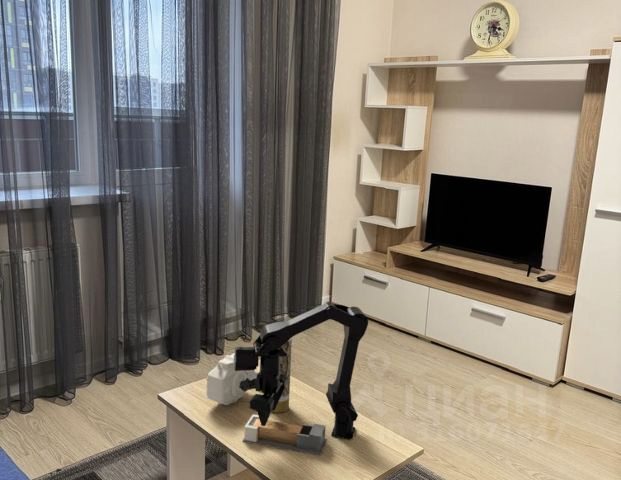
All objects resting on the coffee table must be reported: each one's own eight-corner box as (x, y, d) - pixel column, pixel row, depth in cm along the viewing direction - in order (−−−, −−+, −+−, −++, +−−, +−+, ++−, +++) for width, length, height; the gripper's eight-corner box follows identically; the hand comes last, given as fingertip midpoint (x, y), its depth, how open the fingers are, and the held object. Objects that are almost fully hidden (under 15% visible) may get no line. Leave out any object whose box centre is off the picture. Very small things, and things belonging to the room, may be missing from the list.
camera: (201, 406, 190) (201, 361, 186) (236, 385, 205) (236, 343, 202) (227, 417, 185) (228, 370, 181) (261, 394, 200) (262, 351, 196)
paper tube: (286, 414, 188) (288, 341, 182) (265, 411, 189) (267, 339, 183) (291, 404, 194) (293, 333, 188) (271, 401, 195) (273, 331, 190)
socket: (252, 427, 179) (252, 414, 178) (264, 429, 178) (264, 416, 177) (244, 439, 172) (244, 426, 171) (256, 442, 171) (256, 428, 170)
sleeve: (301, 436, 175) (302, 421, 174) (324, 440, 174) (325, 425, 173) (296, 448, 169) (297, 432, 168) (320, 452, 168) (321, 436, 167)
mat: (251, 426, 180) (251, 425, 180) (326, 439, 175) (326, 438, 175) (242, 441, 172) (242, 440, 172) (320, 455, 167) (320, 454, 167)
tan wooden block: (254, 429, 177) (254, 417, 176) (302, 437, 174) (302, 426, 173) (249, 436, 173) (249, 424, 173) (298, 445, 170) (299, 433, 169)
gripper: (253, 352, 180) (252, 398, 183) (231, 378, 162) (231, 429, 166) (288, 357, 177) (286, 404, 181) (270, 384, 160) (268, 436, 163)
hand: (268, 417), depth 173 cm, fingers open, 9 cm apart
